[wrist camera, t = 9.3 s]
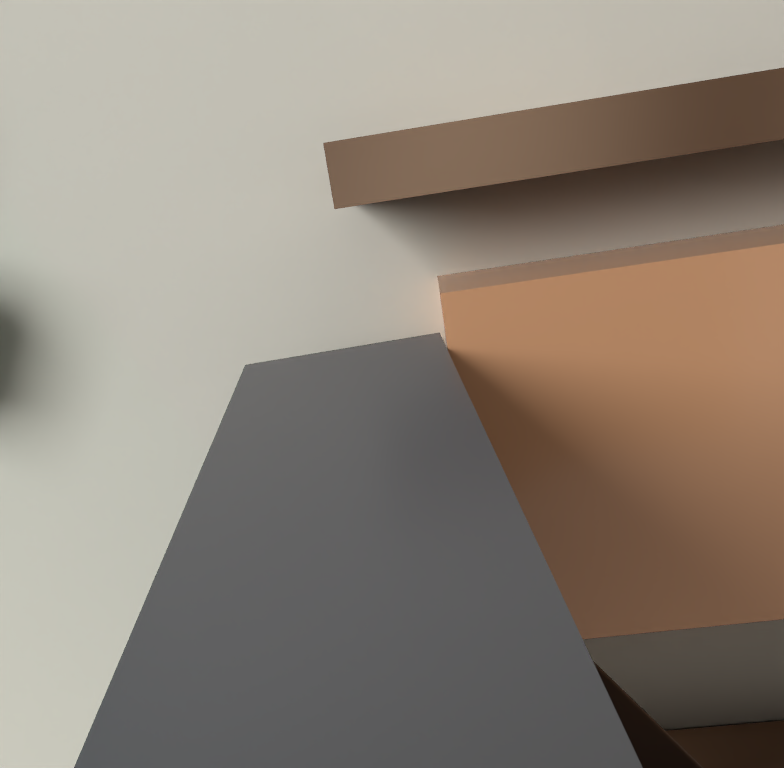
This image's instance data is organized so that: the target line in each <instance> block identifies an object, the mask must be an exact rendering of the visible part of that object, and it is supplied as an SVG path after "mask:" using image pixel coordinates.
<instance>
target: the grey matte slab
mask: <svg viewBox="0 0 784 768" xmlns="http://www.w3.org/2000/svg"><path fill="white" fill-rule="evenodd" d="M74 768H643V767H642V765H641V763H640V761H639V759H638V757H637V755H636V752H635V750H634V748H633V746H632V744H631V742H630V740H629V737H628V735H627V733H626V731H625V729H624V727H623V725H622V722H621V720H620V718H619V716H618V714H617V712H616V710H615V707H614V705H613V703H612V701H611V699H610V697H609V695H608V692H607V690H606V688H605V686H604V684H603V682H602V680H601V677H600V675H599V673H598V671H597V669H596V667H595V665H594V663H593V660H592V658H591V656H590V654H589V652H588V650H587V648H586V645H585V643H584V641H583V639H582V637H581V635H580V633H579V630H578V628H577V626H576V624H575V622H574V620H573V618H572V615H571V613H570V611H569V609H568V607H567V605H566V603H565V600H564V598H563V596H562V594H561V592H560V590H559V588H558V585H557V583H556V581H555V579H554V577H553V575H552V573H551V570H550V568H549V566H548V564H547V562H546V560H545V558H544V555H543V553H542V551H541V549H540V547H539V545H538V543H537V540H536V538H535V536H534V534H533V532H532V530H531V528H530V526H529V523H528V521H527V519H526V517H525V515H524V513H523V511H522V508H521V506H520V504H519V502H518V500H517V498H516V496H515V493H514V491H513V489H512V487H511V485H510V483H509V481H508V478H507V476H506V474H505V472H504V470H503V468H502V466H501V463H500V461H499V459H498V457H497V455H496V453H495V451H494V448H493V446H492V444H491V442H490V440H489V438H488V436H487V433H486V431H485V429H484V427H483V425H482V423H481V421H480V418H479V416H478V414H477V412H476V410H475V408H474V406H473V403H472V401H471V399H470V397H469V395H468V393H467V391H466V388H465V386H464V384H463V382H462V380H461V378H460V376H459V374H458V371H457V369H456V367H455V365H454V363H453V361H452V359H451V356H450V354H449V352H448V350H447V348H446V346H445V344H444V341H443V339H442V337H441V335H440V333H435V334H429V335H423V336H417V337H411V338H405V339H399V340H393V341H387V342H381V343H375V344H369V345H363V346H357V347H351V348H345V349H339V350H332V351H326V352H320V353H314V354H308V355H302V356H296V357H290V358H284V359H278V360H272V361H266V362H260V363H254V364H248V365H245V367H244V369H243V372H242V374H241V376H240V379H239V381H238V383H237V386H236V388H235V391H234V393H233V395H232V398H231V400H230V402H229V405H228V407H227V409H226V412H225V414H224V416H223V419H222V421H221V423H220V426H219V428H218V431H217V433H216V435H215V438H214V440H213V442H212V445H211V447H210V449H209V452H208V454H207V456H206V459H205V461H204V463H203V466H202V468H201V470H200V473H199V475H198V478H197V480H196V482H195V485H194V487H193V489H192V492H191V494H190V496H189V499H188V501H187V503H186V506H185V508H184V510H183V513H182V515H181V518H180V520H179V522H178V525H177V527H176V529H175V532H174V534H173V536H172V539H171V541H170V543H169V546H168V548H167V550H166V553H165V555H164V558H163V560H162V562H161V565H160V567H159V569H158V572H157V574H156V576H155V579H154V581H153V583H152V586H151V588H150V590H149V593H148V595H147V597H146V600H145V602H144V605H143V607H142V609H141V612H140V614H139V616H138V619H137V621H136V623H135V626H134V628H133V630H132V633H131V635H130V637H129V640H128V642H127V645H126V647H125V649H124V652H123V654H122V656H121V659H120V661H119V663H118V666H117V668H116V670H115V673H114V675H113V677H112V680H111V682H110V685H109V687H108V689H107V692H106V694H105V696H104V699H103V701H102V703H101V706H100V708H99V710H98V713H97V715H96V717H95V720H94V722H93V724H92V727H91V729H90V732H89V734H88V736H87V739H86V741H85V743H84V746H83V748H82V750H81V753H80V755H79V757H78V760H77V762H76V764H75V767H74Z"/></svg>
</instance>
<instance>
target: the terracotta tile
mask: <svg viewBox="0 0 784 768" xmlns="http://www.w3.org/2000/svg"><path fill="white" fill-rule="evenodd" d="M438 283H439V290H440V298H441V305H442V313H443V320H444V328H445V335H446V342H447V350H448V352H449V354H450V356H451V359H452V361H453V363H454V365H455V367H456V369H457V371H458V374H459V376H460V378H461V380H462V382H463V384H464V386H465V388H466V391H467V393H468V395H469V397H470V399H471V401H472V403H473V406H474V408H475V410H476V412H477V414H478V416H479V418H480V421H481V423H482V425H483V427H484V429H485V431H486V433H487V436H488V438H489V440H490V442H491V444H492V446H493V448H494V451H495V453H496V455H497V457H498V459H499V461H500V463H501V466H502V468H503V470H504V472H505V474H506V476H507V478H508V481H509V483H510V485H511V487H512V489H513V491H514V493H515V496H516V498H517V500H518V502H519V504H520V506H521V508H522V511H523V513H524V515H525V517H526V519H527V521H528V523H529V526H530V528H531V530H532V532H533V534H534V536H535V538H536V540H537V543H538V545H539V547H540V549H541V551H542V553H543V555H544V558H545V560H546V562H547V564H548V566H549V568H550V570H551V573H552V575H553V577H554V579H555V581H556V583H557V585H558V588H559V590H560V592H561V594H562V596H563V598H564V600H565V603H566V605H567V607H568V609H569V611H570V613H571V615H572V618H573V620H574V622H575V624H576V626H577V628H578V630H579V633H580V635H581V637H582V639H591V638H601V637H611V636H621V635H631V634H641V633H651V632H661V631H671V630H681V629H691V628H701V627H711V626H721V625H731V624H741V623H751V622H761V621H771V620H781V619H784V224H783V225H776V226H770V227H763V228H756V229H750V230H743V231H736V232H730V233H723V234H716V235H710V236H703V237H696V238H689V239H683V240H676V241H669V242H663V243H656V244H649V245H643V246H636V247H629V248H623V249H616V250H609V251H602V252H596V253H589V254H582V255H576V256H569V257H562V258H556V259H549V260H542V261H536V262H529V263H522V264H515V265H509V266H502V267H495V268H489V269H482V270H475V271H469V272H462V273H455V274H449V275H442V276H438Z"/></svg>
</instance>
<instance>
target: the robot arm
mask: <svg viewBox="0 0 784 768" xmlns="http://www.w3.org/2000/svg"><path fill="white" fill-rule="evenodd" d="M593 663H594V665H595V667H596V669H597V671H598V673H599V675H600V677H601V680H602V682H603V684H604V686H605V688H606V690H607V692H608V695H609V697H610V699H611V701H612V703H613V705H614V707H615V710H616V712H617V714H618V716H619V718H620V720H621V722H622V725H623V727H624V729H625V731H626V733H627V735H628V737H629V740H630V742H631V744H632V746H633V748H634V750H635V752H636V755H637V757H638V759H639V761H640V763H641V765H642V767H643V768H703V767H702V766H701V765H700V764H699V763H698V762H697V761H696V760H695V759H694V758H693V757H692V756H691V755H690V754H688V753H687V752H686V751H685V750H684V749H683V748H682V747H681V746H680V745H679V744H678V743H677V742H676V741H675V740H674V739H673V738H672V737H671V736H670V735H669V734H668V733H667V732H666V731H665V730H664V729H663V728H662V727H661V726H660V725H659V724H658V723H656V722H655V721H654V720H653V719H652V718H651V717H650V716H649V715H648V714H647V713H646V712H645V711H644V710H643V709H642V708H641V707H640V706H639V705H638V704H637V703H636V702H635V701H634V700H633V699H632V698H631V697H630V696H629V695H628V694H627V693H626V692H624V691H623V690H622V689H621V688H620V687H619V686H618V685H617V684H616V683H615V682H614V681H613V680H612V679H611V678H610V677H609V676H608V675H607V674H606V673H605V672H604V671H603V670H602V669H601V668H600V667H599V666H598V665H597V664H596V663H595V662H594V661H593Z"/></svg>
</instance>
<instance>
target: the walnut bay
mask: <svg viewBox="0 0 784 768" xmlns="http://www.w3.org/2000/svg"><path fill="white" fill-rule="evenodd" d="M783 139H784V68H779V69H773V70H767V71H760V72H754V73H748V74H742V75H736V76H730V77H724V78H718V79H712V80H705V81H699V82H693V83H687V84H681V85H675V86H669V87H663V88H657V89H650V90H644V91H638V92H632V93H626V94H620V95H614V96H608V97H602V98H595V99H589V100H583V101H577V102H571V103H565V104H559V105H553V106H547V107H540V108H534V109H528V110H522V111H516V112H510V113H504V114H498V115H492V116H485V117H479V118H473V119H467V120H461V121H455V122H449V123H443V124H437V125H430V126H424V127H418V128H412V129H406V130H400V131H394V132H388V133H382V134H375V135H369V136H363V137H357V138H351V139H345V140H339V141H333V142H327V143H323V144H324V150H325V156H326V162H327V167H328V173H329V179H330V185H331V191H332V197H333V202H334V208H335V209H338V208H345V207H351V206H357V205H364V204H370V203H377V202H383V201H390V200H396V199H403V198H409V197H415V196H422V195H428V194H435V193H441V192H448V191H454V190H461V189H467V188H473V187H480V186H486V185H493V184H499V183H506V182H512V181H519V180H525V179H531V178H538V177H544V176H551V175H557V174H564V173H570V172H576V171H583V170H589V169H596V168H602V167H609V166H615V165H622V164H628V163H634V162H641V161H647V160H654V159H660V158H667V157H673V156H680V155H686V154H692V153H699V152H705V151H712V150H718V149H725V148H731V147H738V146H744V145H750V144H757V143H763V142H770V141H776V140H783ZM666 732H667V733H668V734H669V735H670V736H671V737H672V738H673V739H674V740H675V741H676V742H677V743H678V744H679V745H680V746H681V747H682V748H683V749H684V750H685V751H686V752H687V753H688V754H690V755H691V756H692V757H693V758H694V759H695V760H696V761H697V762H698V763H699V764H700V765H701V766H702V767H703V768H784V720H783V721H772V722H761V723H749V724H738V725H726V726H715V727H703V728H692V729H681V730H669V731H666Z"/></svg>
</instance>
